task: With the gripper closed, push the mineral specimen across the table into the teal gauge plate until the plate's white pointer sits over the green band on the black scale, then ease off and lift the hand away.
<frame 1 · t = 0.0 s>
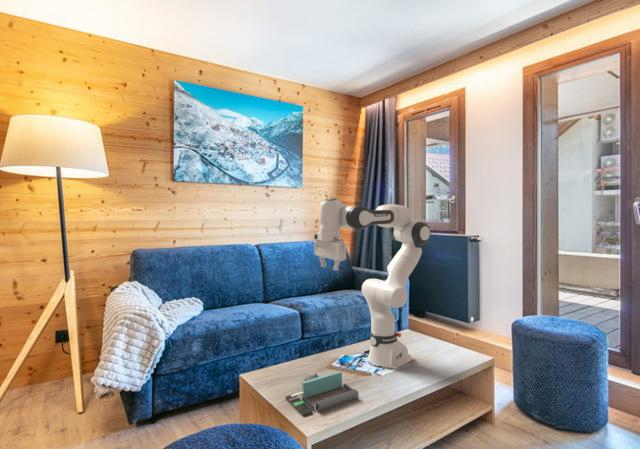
hand: (329, 268, 158), 48 cm above the table, tool pointing down, fingers open, 8 cm apart
gauge plate: (317, 385, 147), point 3 cm above the table, slide at 0.0 cm
mineral specimen: (313, 385, 155), on the table
gauge frame: (329, 397, 144), on the table
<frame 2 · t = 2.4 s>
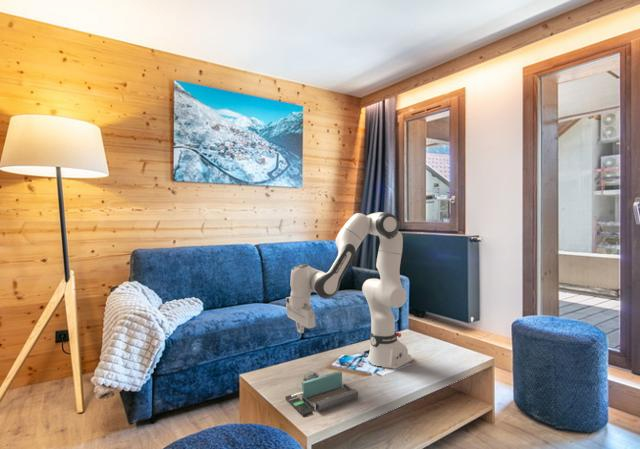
hand: (300, 332, 163), 19 cm above the table, tool pointing down, fingers closed
nothing on the table moved.
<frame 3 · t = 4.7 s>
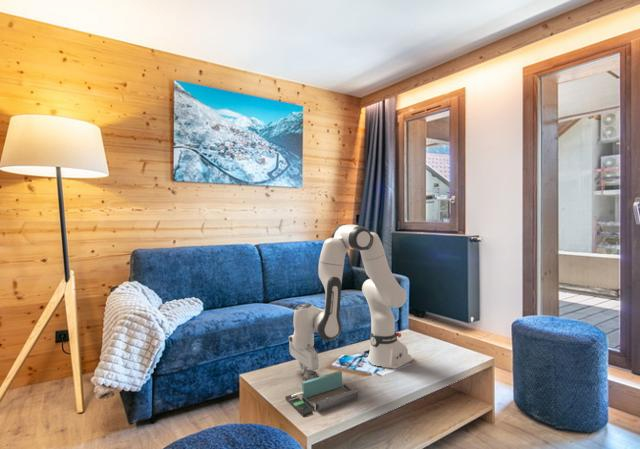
hand: (303, 372, 162), 2 cm above the table, tool pointing down, fingers closed
mineral specimen: (312, 383, 156), on the table, touching gripper
everything else where it was.
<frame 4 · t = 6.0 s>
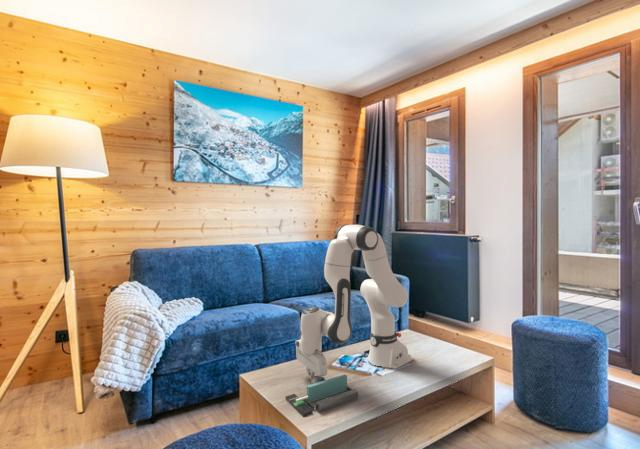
hand: (311, 378, 156), 2 cm above the table, tool pointing down, fingers closed
gauge plate: (322, 389, 144), point 3 cm above the table, slide at 3.6 cm, touching mineral specimen
mineral specimen: (320, 389, 151), on the table, touching gauge plate, gripper
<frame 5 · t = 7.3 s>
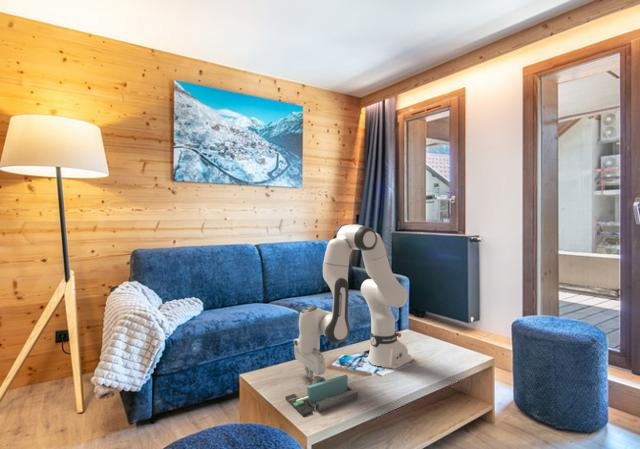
hand: (309, 376, 157), 2 cm above the table, tool pointing down, fingers closed
gauge plate: (322, 390, 144), point 3 cm above the table, slide at 4.0 cm
mineral specimen: (320, 390, 151), on the table
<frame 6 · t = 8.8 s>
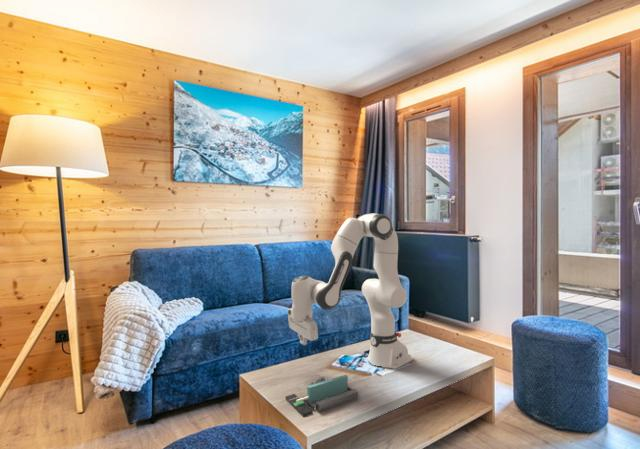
hand: (303, 343, 162), 14 cm above the table, tool pointing down, fingers closed
nothing on the table moved.
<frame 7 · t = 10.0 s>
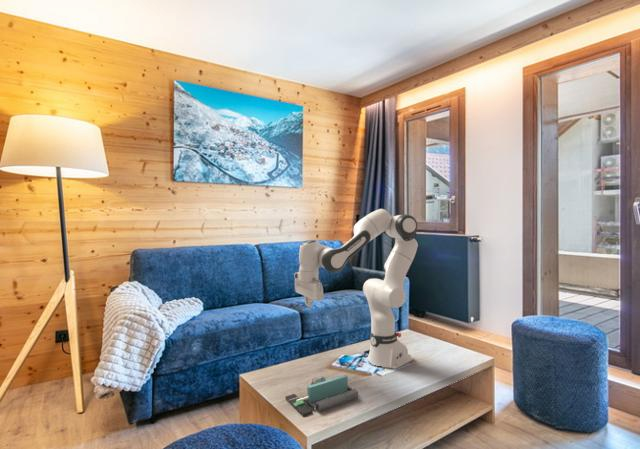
hand: (308, 306, 168), 29 cm above the table, tool pointing down, fingers closed
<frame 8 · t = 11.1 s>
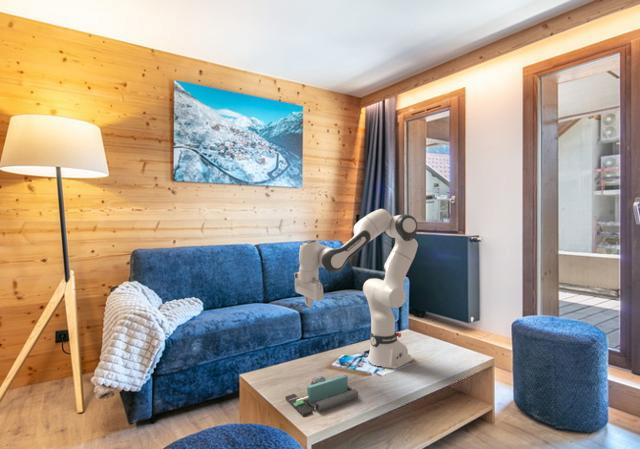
hand: (308, 306, 168), 29 cm above the table, tool pointing down, fingers closed
at the end: gauge plate slide at 4.0 cm; mineral specimen moved 3.8 cm from its start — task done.
